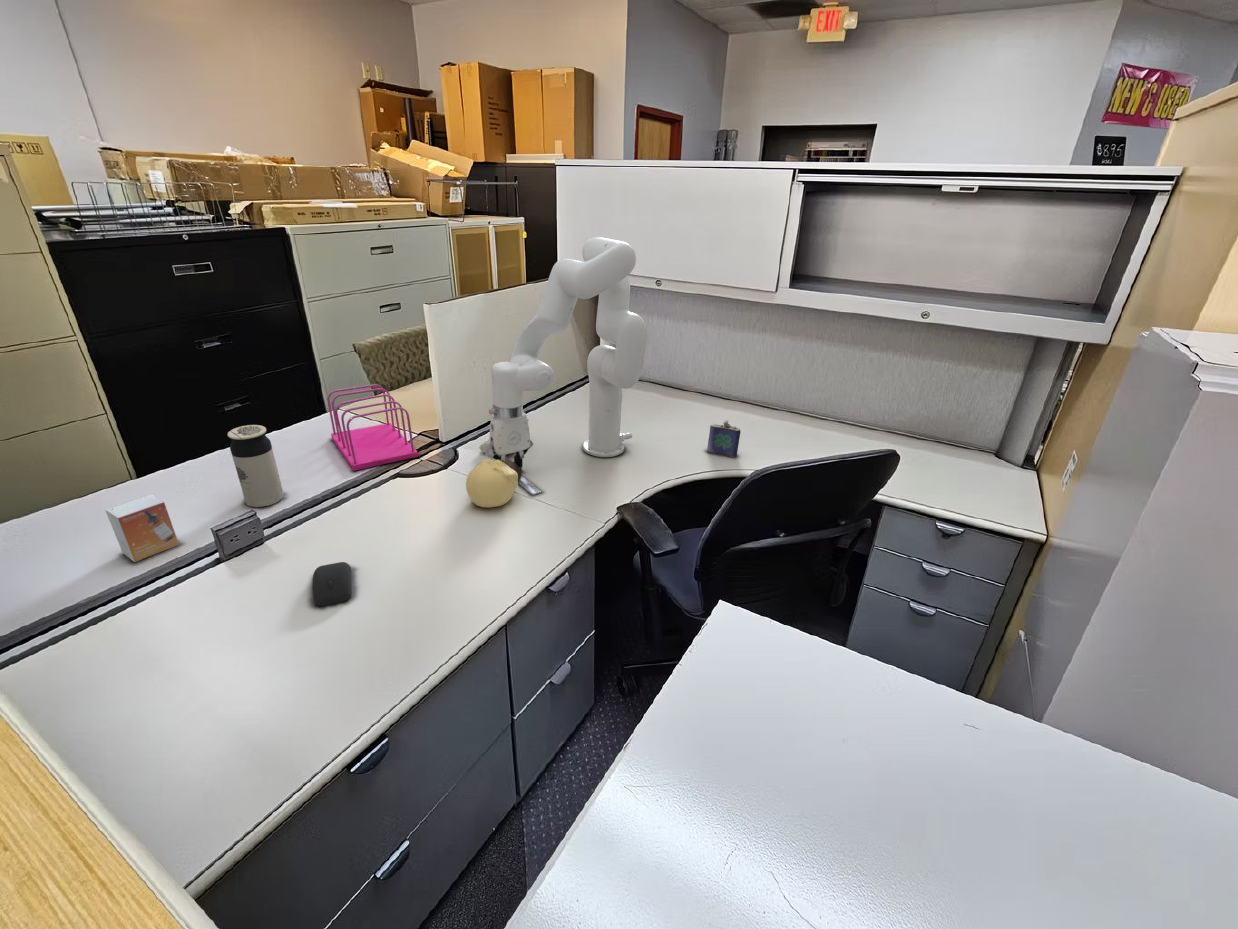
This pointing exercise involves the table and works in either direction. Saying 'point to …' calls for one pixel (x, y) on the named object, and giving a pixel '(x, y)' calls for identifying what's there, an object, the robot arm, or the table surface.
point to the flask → (723, 439)
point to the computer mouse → (332, 584)
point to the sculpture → (491, 483)
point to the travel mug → (255, 465)
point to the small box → (142, 527)
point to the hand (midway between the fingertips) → (510, 471)
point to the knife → (522, 478)
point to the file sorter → (371, 434)
